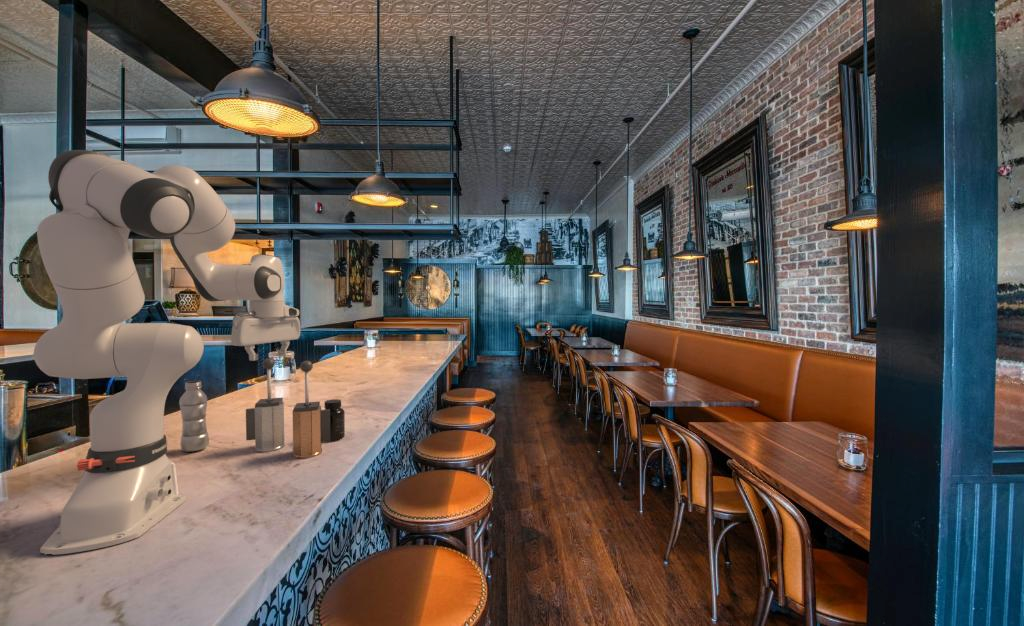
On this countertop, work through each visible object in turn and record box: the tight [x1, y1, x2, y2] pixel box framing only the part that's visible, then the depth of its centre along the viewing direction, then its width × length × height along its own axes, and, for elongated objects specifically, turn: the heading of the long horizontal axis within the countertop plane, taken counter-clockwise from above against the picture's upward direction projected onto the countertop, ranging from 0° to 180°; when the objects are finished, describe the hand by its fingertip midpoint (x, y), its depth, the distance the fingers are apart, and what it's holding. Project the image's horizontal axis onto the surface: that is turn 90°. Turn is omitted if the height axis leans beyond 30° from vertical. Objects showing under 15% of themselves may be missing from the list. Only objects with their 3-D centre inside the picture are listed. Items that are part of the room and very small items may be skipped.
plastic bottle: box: [178, 380, 210, 453], centre depth 117 cm, size 6×7×20 cm
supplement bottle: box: [323, 398, 346, 443], centre depth 127 cm, size 7×7×12 cm
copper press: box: [292, 401, 330, 460], centre depth 115 cm, size 10×7×14 cm
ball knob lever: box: [299, 360, 314, 406], centre depth 114 cm, size 3×3×15 cm
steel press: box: [245, 397, 286, 453], centre depth 119 cm, size 10×7×14 cm
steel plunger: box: [261, 357, 276, 401], centre depth 119 cm, size 3×3×15 cm
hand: (268, 357), depth 119 cm, fingers open, 8 cm apart
